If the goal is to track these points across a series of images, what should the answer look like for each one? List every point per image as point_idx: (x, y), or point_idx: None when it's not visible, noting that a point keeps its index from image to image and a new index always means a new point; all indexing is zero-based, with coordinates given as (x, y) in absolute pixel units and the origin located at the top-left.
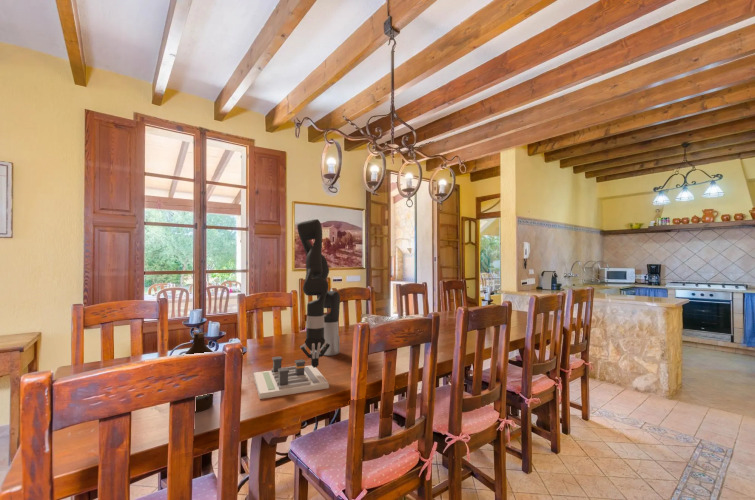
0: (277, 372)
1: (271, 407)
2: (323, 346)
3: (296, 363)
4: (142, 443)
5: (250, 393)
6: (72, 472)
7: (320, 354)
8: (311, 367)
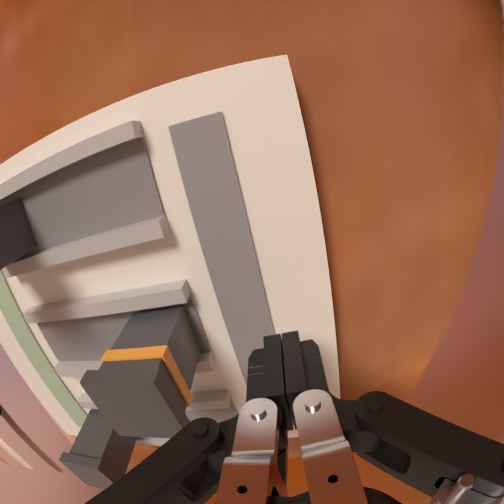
0: (20, 273)
1: (134, 465)
2: (437, 492)
3: (119, 427)
4: (13, 456)
5: None
6: (7, 465)
7: (358, 453)
8: (259, 126)
